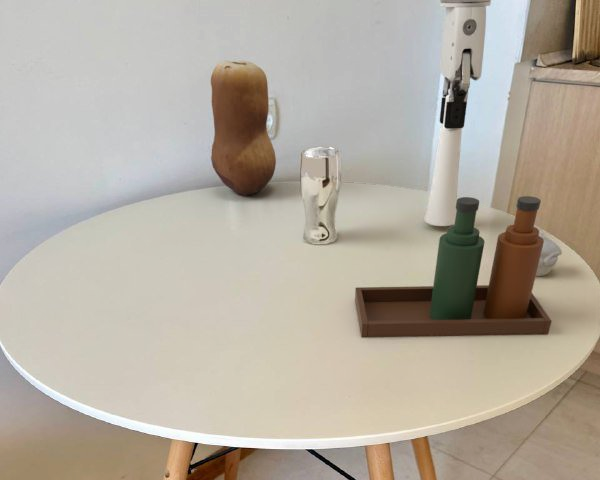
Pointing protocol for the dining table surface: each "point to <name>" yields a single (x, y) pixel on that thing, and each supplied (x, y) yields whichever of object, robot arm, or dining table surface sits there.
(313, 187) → the beer glass
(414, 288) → the tray
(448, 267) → the green bottle
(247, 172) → the butternut squash
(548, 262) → the frog figurine
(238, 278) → the dining table surface
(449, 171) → the cosmetic bottle
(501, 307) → the amber bottle
